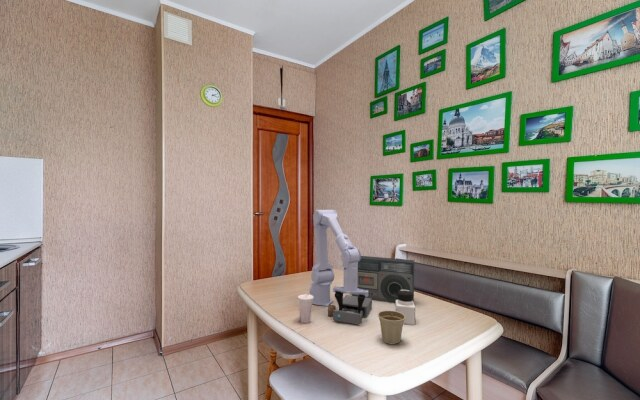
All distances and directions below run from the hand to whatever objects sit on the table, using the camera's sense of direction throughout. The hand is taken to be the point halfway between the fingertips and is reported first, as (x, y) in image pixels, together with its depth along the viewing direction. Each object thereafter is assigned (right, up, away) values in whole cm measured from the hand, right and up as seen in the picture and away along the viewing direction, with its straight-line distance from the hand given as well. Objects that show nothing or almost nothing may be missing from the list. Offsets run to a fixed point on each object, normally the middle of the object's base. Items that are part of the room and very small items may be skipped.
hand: (350, 311), depth 118 cm
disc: (0, -2, 0) cm, 2 cm away
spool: (-7, -3, +3) cm, 9 cm away
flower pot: (+12, -3, -17) cm, 22 cm away
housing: (+4, -3, +10) cm, 11 cm away
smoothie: (-18, -3, -2) cm, 19 cm away
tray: (0, -2, 0) cm, 2 cm away
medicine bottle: (+22, -4, -1) cm, 22 cm away
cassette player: (+19, -4, +25) cm, 31 cm away
